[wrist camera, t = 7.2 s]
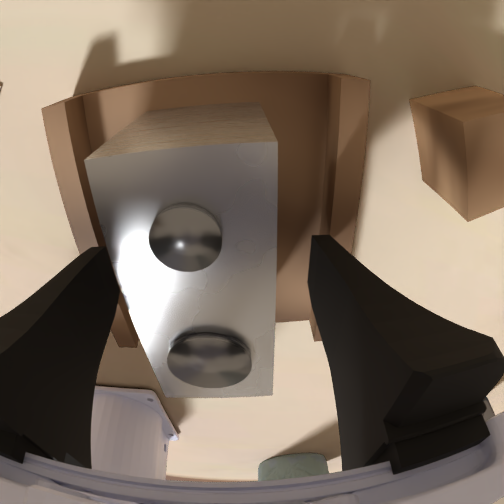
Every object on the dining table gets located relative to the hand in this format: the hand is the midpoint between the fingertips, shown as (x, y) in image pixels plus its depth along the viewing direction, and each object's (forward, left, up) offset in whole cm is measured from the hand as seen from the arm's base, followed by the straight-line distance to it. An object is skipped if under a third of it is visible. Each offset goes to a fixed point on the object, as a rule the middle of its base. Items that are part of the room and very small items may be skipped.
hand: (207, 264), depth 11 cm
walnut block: (+4, -11, -4) cm, 12 cm away
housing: (0, 0, -3) cm, 3 cm away
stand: (0, 0, -4) cm, 4 cm away
